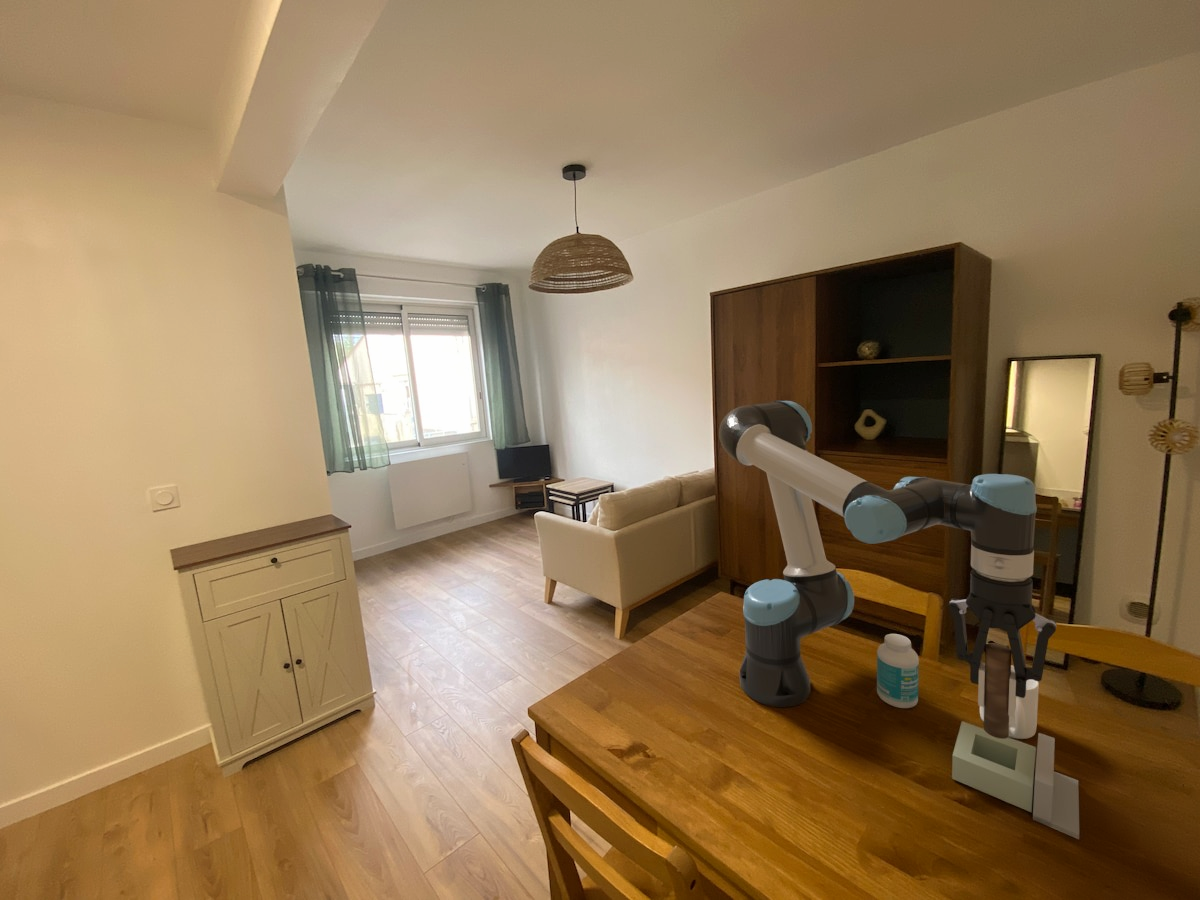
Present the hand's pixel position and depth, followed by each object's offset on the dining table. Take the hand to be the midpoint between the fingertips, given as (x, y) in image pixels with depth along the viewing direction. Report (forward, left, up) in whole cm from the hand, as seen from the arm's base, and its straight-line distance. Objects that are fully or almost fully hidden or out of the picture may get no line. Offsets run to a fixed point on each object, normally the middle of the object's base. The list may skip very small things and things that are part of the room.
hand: (996, 706), depth 78 cm
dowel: (0, 0, -5) cm, 5 cm away
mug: (+1, +14, -14) cm, 20 cm away
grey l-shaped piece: (+8, 0, -13) cm, 15 cm away
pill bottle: (-17, +12, -14) cm, 25 cm away
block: (0, 0, -13) cm, 13 cm away
